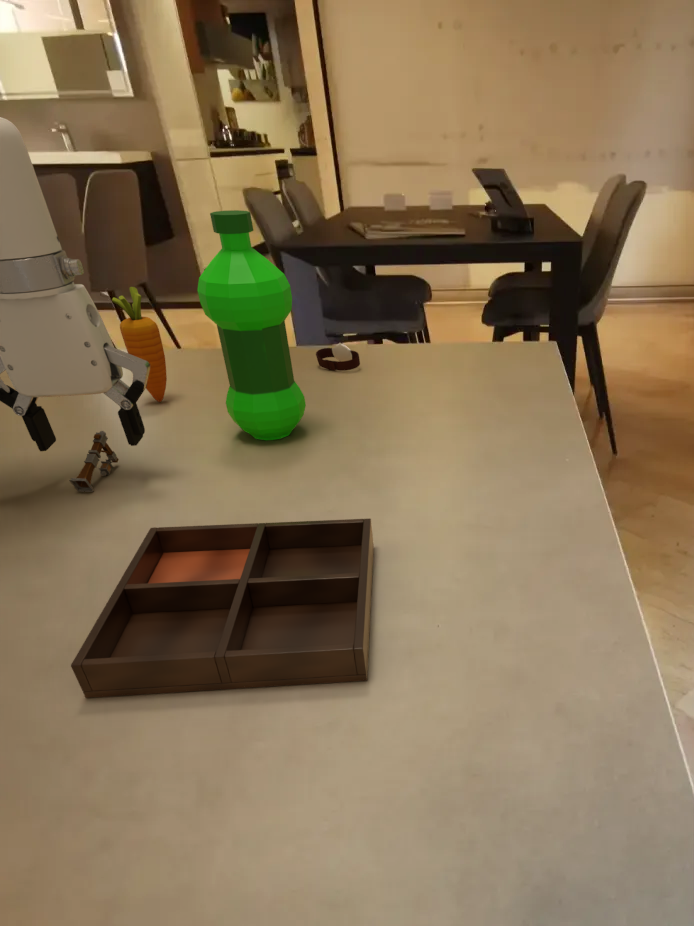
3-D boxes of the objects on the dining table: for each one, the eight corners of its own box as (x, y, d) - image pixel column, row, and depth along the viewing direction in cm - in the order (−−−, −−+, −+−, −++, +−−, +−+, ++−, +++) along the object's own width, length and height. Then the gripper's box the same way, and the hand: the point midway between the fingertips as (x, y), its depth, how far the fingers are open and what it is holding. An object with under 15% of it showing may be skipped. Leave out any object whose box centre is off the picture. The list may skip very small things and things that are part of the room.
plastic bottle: (293, 414, 98) (258, 205, 83) (322, 437, 91) (290, 214, 76) (222, 428, 94) (171, 210, 79) (247, 454, 87) (197, 221, 72)
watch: (366, 366, 117) (364, 343, 114) (352, 373, 113) (349, 350, 111) (326, 361, 119) (323, 338, 117) (311, 368, 115) (307, 345, 113)
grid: (85, 698, 51) (70, 665, 49) (159, 556, 67) (150, 527, 65) (367, 680, 53) (363, 648, 51) (373, 546, 69) (370, 518, 67)
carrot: (156, 409, 99) (123, 294, 90) (134, 403, 102) (99, 289, 92) (185, 400, 103) (155, 287, 94) (163, 394, 105) (132, 283, 96)
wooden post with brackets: (126, 454, 84) (107, 426, 80) (104, 506, 81) (83, 479, 77) (111, 453, 84) (92, 425, 80) (89, 505, 81) (68, 479, 77)
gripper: (130, 263, 72) (179, 427, 82) (-46, 271, 70) (27, 435, 81) (106, 278, 66) (162, 452, 76) (-86, 287, 65) (-2, 462, 75)
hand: (92, 443), depth 79 cm, fingers open, 9 cm apart
